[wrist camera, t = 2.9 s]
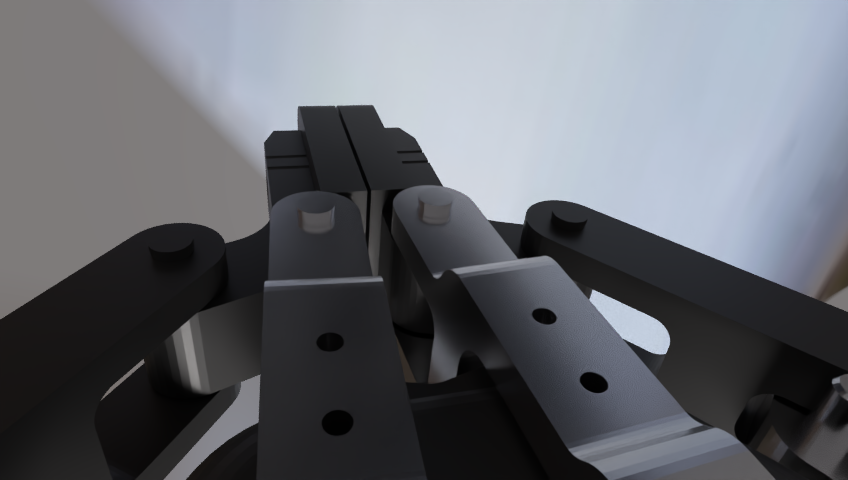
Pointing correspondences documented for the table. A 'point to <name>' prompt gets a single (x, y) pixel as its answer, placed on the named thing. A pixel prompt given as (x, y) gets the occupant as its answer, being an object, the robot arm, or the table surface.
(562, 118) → the table surface
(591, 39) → the table surface
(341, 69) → the table surface
